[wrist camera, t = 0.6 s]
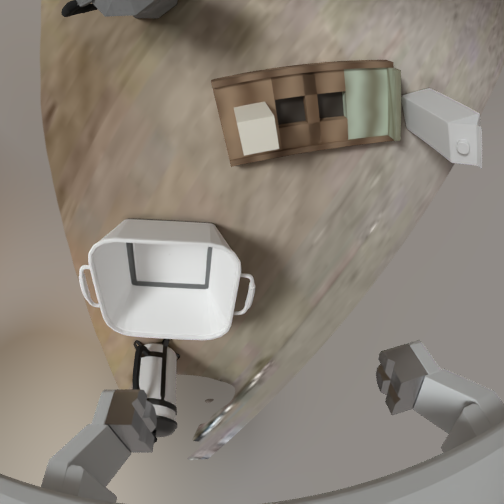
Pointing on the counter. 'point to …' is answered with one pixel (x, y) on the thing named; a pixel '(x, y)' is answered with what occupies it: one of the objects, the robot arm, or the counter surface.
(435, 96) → the milk carton
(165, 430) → the coffee press
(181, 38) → the counter surface
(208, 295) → the tub
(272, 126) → the cream block
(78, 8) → the coffeepot
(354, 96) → the box
